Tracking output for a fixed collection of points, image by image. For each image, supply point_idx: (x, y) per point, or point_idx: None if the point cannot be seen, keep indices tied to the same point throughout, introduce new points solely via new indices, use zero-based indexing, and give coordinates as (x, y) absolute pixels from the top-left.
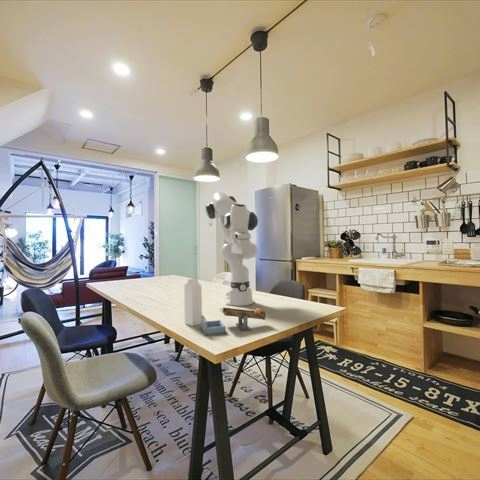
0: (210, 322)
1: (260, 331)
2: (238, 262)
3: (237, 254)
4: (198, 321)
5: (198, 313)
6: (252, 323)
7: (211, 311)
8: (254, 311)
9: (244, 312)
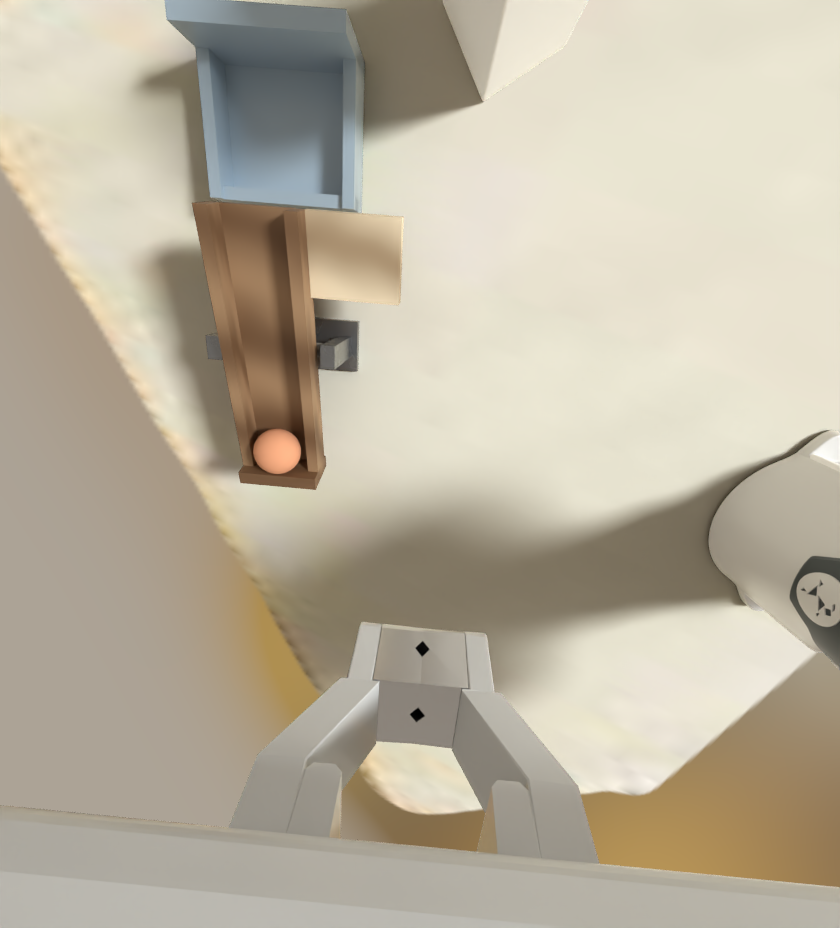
0: (343, 124)
1: (213, 397)
2: (430, 629)
3: (493, 837)
4: (468, 55)
5: (473, 23)
6: (348, 416)
7: (735, 267)
8: (275, 432)
9: (221, 349)
